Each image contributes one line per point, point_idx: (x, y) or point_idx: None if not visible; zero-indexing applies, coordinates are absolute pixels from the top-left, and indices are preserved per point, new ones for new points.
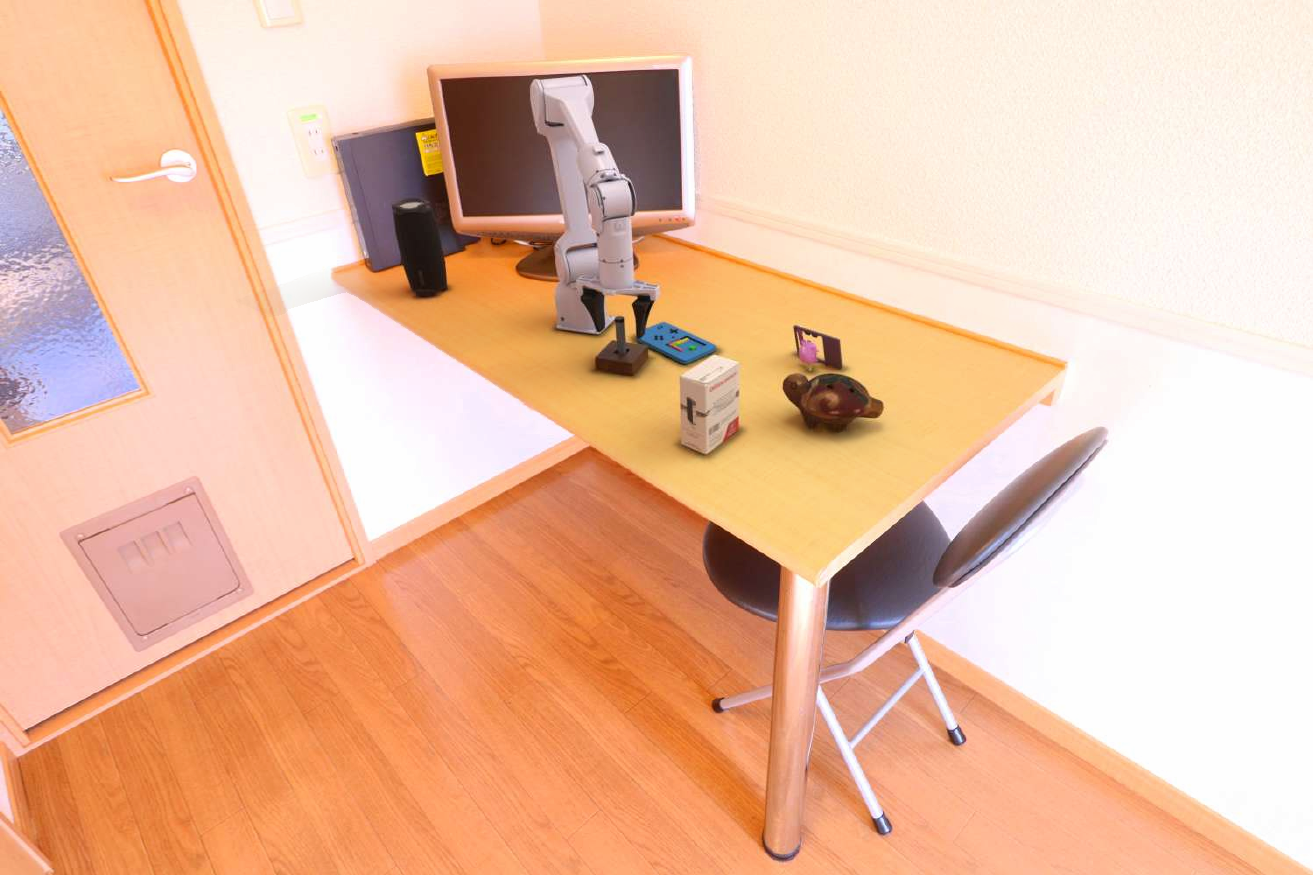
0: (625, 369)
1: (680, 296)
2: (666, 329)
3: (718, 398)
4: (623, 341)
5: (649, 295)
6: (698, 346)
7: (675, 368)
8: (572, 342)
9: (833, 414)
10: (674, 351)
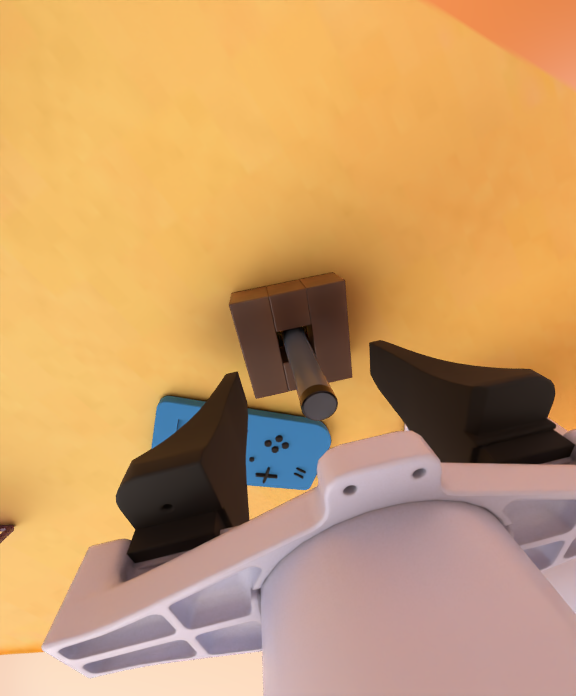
0: (251, 293)
1: None
2: (284, 473)
3: None
4: (290, 356)
5: (145, 568)
6: None
7: (172, 374)
8: (447, 352)
9: None
10: None
